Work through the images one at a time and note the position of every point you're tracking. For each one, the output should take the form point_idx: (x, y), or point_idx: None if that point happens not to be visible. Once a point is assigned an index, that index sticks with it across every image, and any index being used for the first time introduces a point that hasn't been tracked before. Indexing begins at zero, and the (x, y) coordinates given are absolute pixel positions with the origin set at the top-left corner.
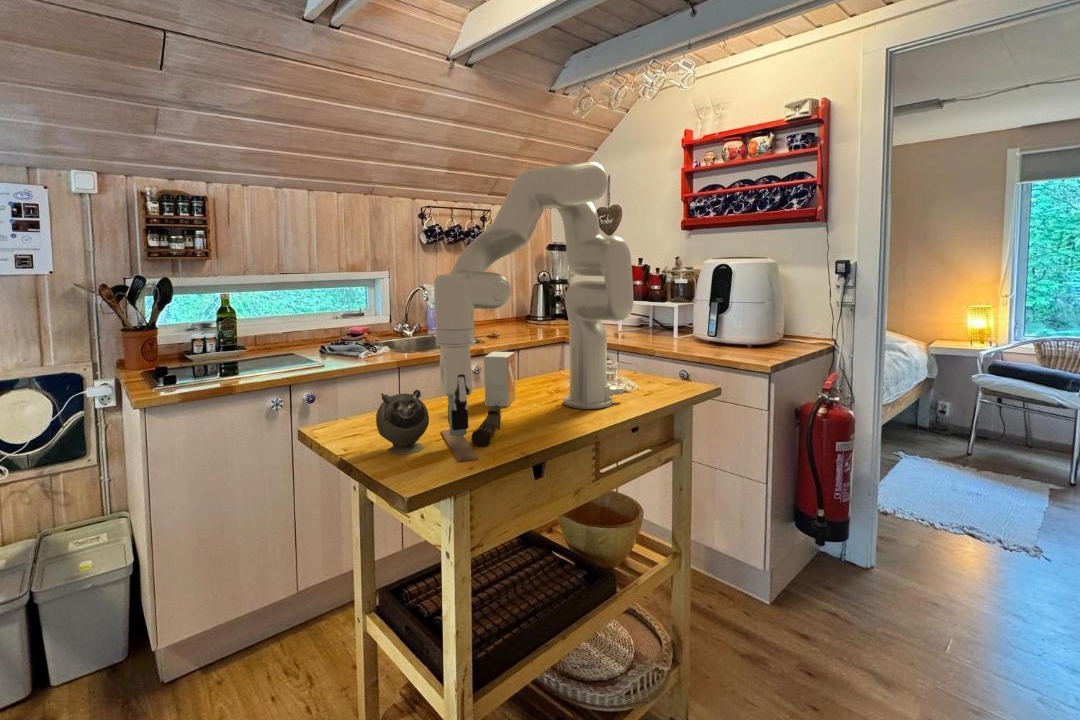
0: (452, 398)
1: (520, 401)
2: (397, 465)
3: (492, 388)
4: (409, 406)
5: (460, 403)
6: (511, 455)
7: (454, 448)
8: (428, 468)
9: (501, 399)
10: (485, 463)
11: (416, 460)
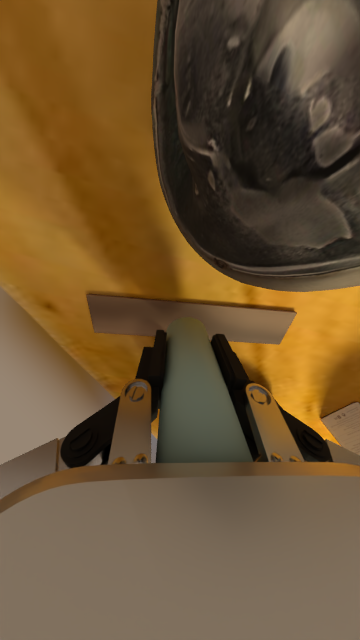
0: (145, 446)
1: (326, 431)
2: (94, 103)
3: None
4: (323, 43)
5: (35, 450)
6: (106, 373)
7: (168, 308)
8: (54, 212)
9: (340, 426)
10: (74, 334)
11: (127, 194)
